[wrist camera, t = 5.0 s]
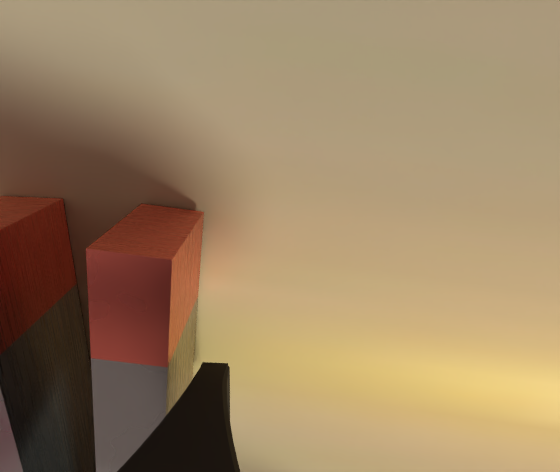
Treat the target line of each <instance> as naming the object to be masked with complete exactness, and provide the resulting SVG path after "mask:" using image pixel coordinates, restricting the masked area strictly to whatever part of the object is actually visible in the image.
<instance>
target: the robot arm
mask: <svg viewBox="0 0 560 472" xmlns="http://www.w3.org/2000/svg"><path fill="white" fill-rule="evenodd" d="M117 472H240V469H239V465H238V461H237V457H236V452H235V448H234V443H233V438H232V432H231V426H230V367H229V366H228V363H205V362H203V363H202V365H201V367H200V369H199V370H198V372H197V374H196V375H195V377H194V378H193V380H192V381H191V383H190V384H189V385H188V387H187V388H186V390H185V391H184V392H183V394H182V395H181V397H180V398H179V399H178V401H177V402H176V403H175V405H174V406H173V407H172V408H171V410H170V411H169V412H168V414H167V415H166V416H165V417H164V419H163V420H162V421H161V423H160V424H159V425H158V426H157V427H156V429H155V430H154V431H153V432H152V433H151V434H150V436H149V437H148V438H147V439H146V440H145V441H144V442H143V444H142V445H141V446H140V447H139V448H138V449H137V451H136V452H135V453H134V454H133V455H132V456H131V457H130V458H129V459H128V460H127V461H126V463H125V464H124V465H123V466H122V467H121V468H120V469H119V470H118V471H117Z"/></svg>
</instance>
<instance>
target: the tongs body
mask: <svg viewBox="0 0 560 472" xmlns="http://www.w3.org/2000/svg"><path fill="white" fill-rule="evenodd" d="M0 472H96V458H95V436H94V414H93V393H92V373H91V367H90V361H89V355H88V349H87V343H86V337H85V330H84V324H83V318H82V312H81V306H80V300H79V294H78V288H77V282H76V276H75V270H74V264H73V258H72V251H71V245H70V239H69V233H68V227H67V221H66V215H65V209H64V203H63V199H61V198H37V197H13V196H1V197H0Z"/></svg>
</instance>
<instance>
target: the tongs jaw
mask: <svg viewBox="0 0 560 472" xmlns="http://www.w3.org/2000/svg"><path fill="white" fill-rule="evenodd" d="M203 216H204V212H201V211H193V210H186V209H178V208H171V207H163V206H156V205H148V204H141V205H139V206H138V207H137V208H136V209H135V210H133V211H132V212H131V213H130V214H128V215H127V216H126V217H125V218H123V219H122V220H121V221H120V222H118V223H117V224H116V225H115V226H113V227H112V228H111V229H110V230H108V231H107V232H106V233H105V234H103V235H102V236H101V237H100V238H99V239H97V240H96V241H95V242H94V243H92V244H91V245H90V246H89V247H87V248H86V261H87V283H88V305H89V327H90V349H91V371H92V393H93V414H94V436H95V458H96V472H117V471H118V470H119V469H120V468H121V467H122V466H123V465H124V464H125V463H126V461H127V460H128V459H129V458H130V457H131V456H132V455H133V454H134V453H135V452H136V451H137V449H138V448H139V447H140V446H141V445H142V444H143V442H144V441H145V440H146V439H147V438H148V437H149V436H150V434H151V433H152V432H153V431H154V430H155V429H156V427H157V426H158V425H159V424H160V423H161V421H162V420H163V419H164V417H165V416H166V415H167V414H168V412H169V411H170V410H171V408H172V407H173V406H174V405H175V403H176V402H177V401H178V399H179V398H180V397H181V395H182V394H183V392H184V391H185V390H186V388H187V387H188V385H189V384H190V383H191V381H192V376H193V361H194V347H195V332H196V318H197V303H198V289H199V274H200V259H201V245H202V230H203Z"/></svg>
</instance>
